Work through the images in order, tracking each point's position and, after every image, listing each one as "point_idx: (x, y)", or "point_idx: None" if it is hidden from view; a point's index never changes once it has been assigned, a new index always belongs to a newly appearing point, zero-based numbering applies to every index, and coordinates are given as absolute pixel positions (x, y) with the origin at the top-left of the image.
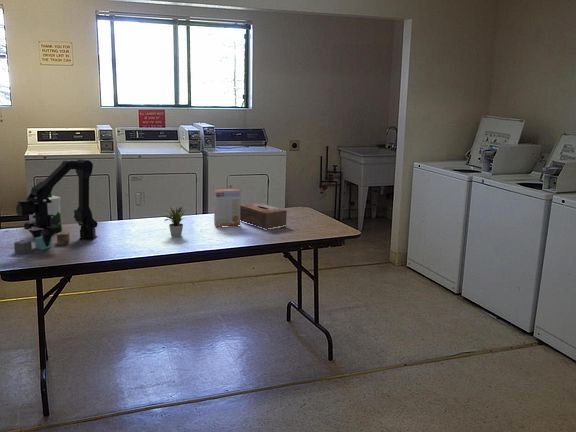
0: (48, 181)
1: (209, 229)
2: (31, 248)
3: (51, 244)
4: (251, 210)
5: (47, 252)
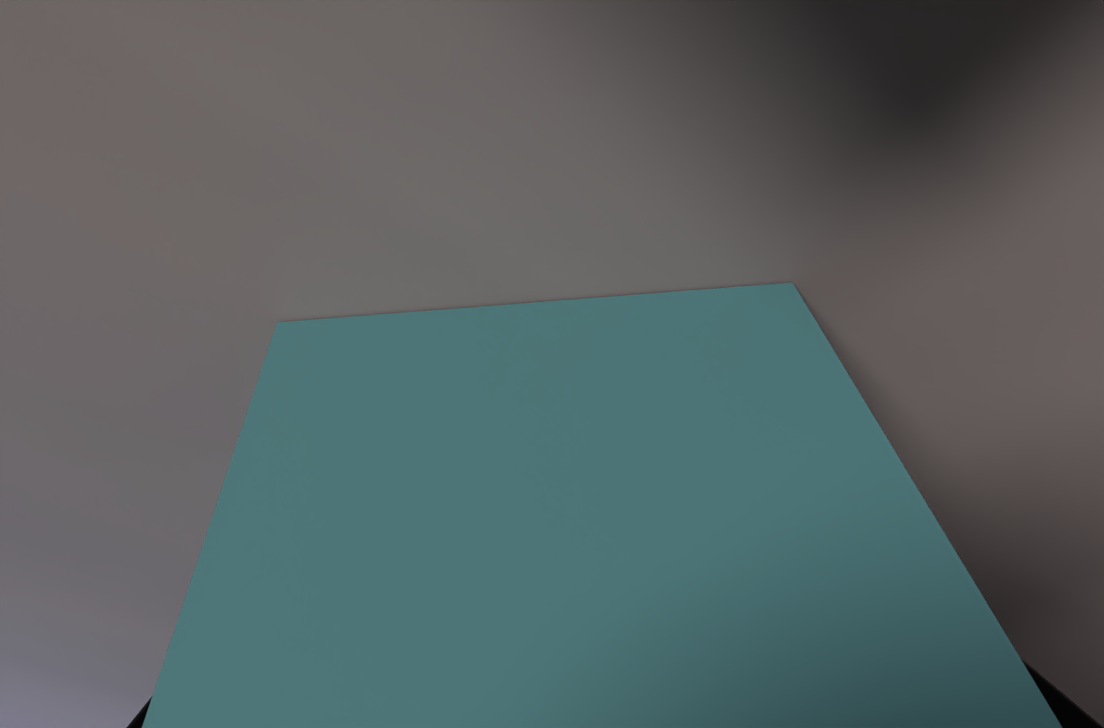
0: None
1: None
2: None
3: (841, 370)
4: None
5: (1094, 644)
